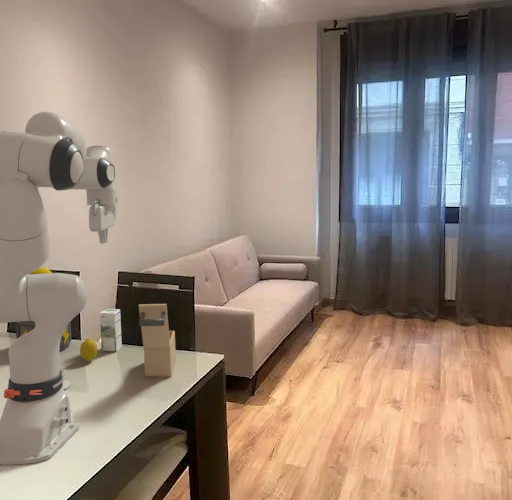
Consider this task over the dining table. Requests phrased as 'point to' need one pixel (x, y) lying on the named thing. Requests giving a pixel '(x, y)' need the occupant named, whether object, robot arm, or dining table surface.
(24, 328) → the decorative lamp
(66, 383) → the teacup
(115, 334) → the syrup box
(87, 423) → the dining table surface
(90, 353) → the lemon
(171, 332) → the carton
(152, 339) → the lid flap
